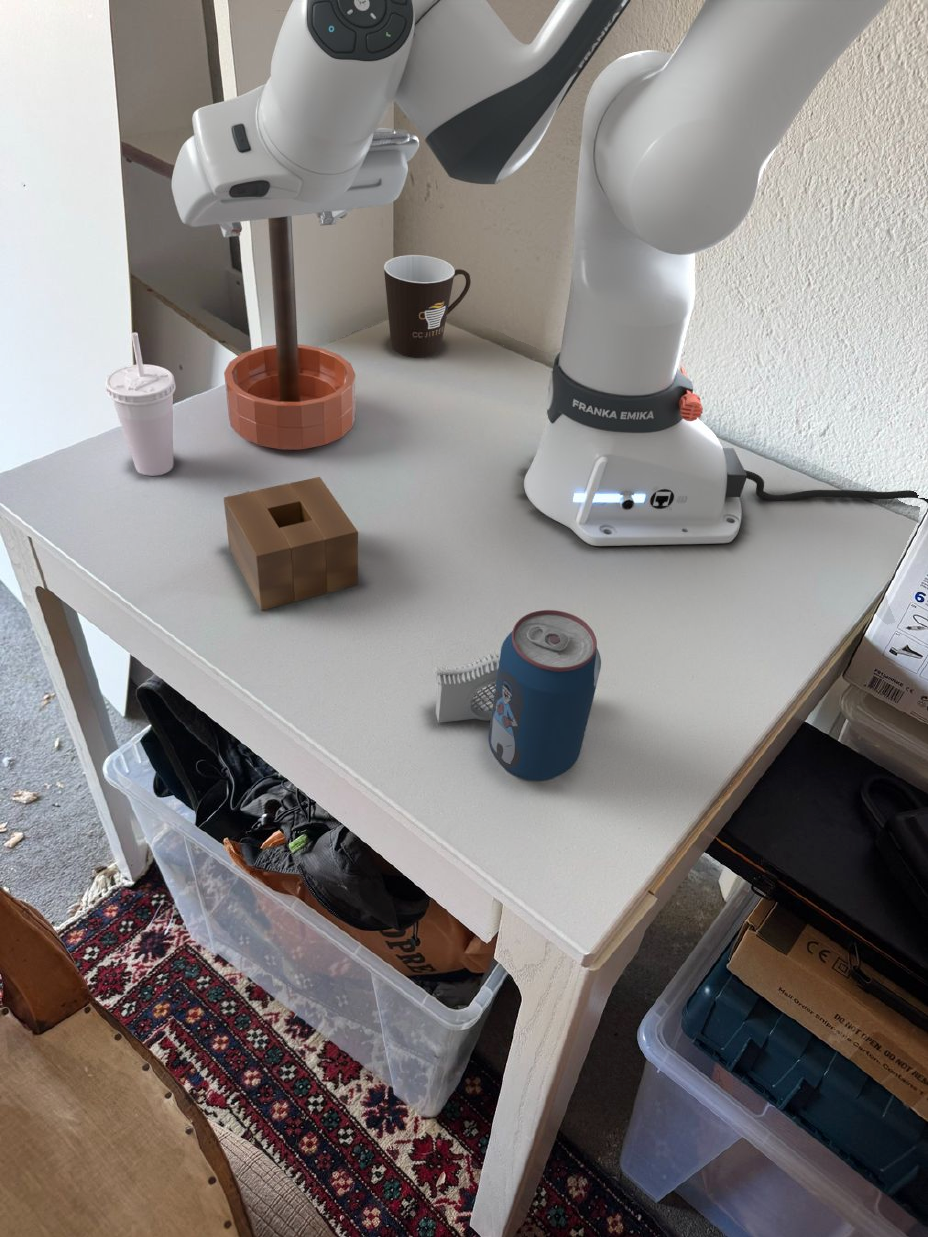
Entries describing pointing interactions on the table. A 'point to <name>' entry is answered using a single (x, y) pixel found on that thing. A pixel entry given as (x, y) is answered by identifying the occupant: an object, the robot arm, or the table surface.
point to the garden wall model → (466, 690)
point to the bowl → (291, 423)
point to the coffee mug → (419, 302)
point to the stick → (284, 307)
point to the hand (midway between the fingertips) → (278, 223)
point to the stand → (292, 542)
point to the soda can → (543, 695)
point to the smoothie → (145, 412)
